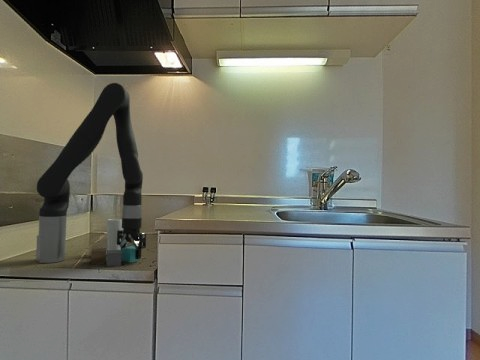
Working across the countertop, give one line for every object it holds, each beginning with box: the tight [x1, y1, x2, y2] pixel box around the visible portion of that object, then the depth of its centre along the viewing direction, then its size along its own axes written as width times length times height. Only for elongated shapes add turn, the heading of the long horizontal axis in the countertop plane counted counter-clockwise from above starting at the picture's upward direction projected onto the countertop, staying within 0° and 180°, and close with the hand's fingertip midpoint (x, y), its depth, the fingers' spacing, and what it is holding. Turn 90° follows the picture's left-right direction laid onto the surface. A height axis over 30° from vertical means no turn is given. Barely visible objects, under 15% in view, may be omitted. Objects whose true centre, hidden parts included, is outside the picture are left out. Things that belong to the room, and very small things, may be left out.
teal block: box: [121, 245, 141, 263], centre depth 133 cm, size 5×5×5 cm
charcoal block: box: [106, 249, 122, 268], centre depth 126 cm, size 5×5×5 cm
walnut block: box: [90, 247, 107, 265], centre depth 129 cm, size 5×5×5 cm
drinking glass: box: [106, 218, 123, 250], centre depth 142 cm, size 7×7×15 cm
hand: (130, 257), depth 133 cm, fingers open, 8 cm apart
